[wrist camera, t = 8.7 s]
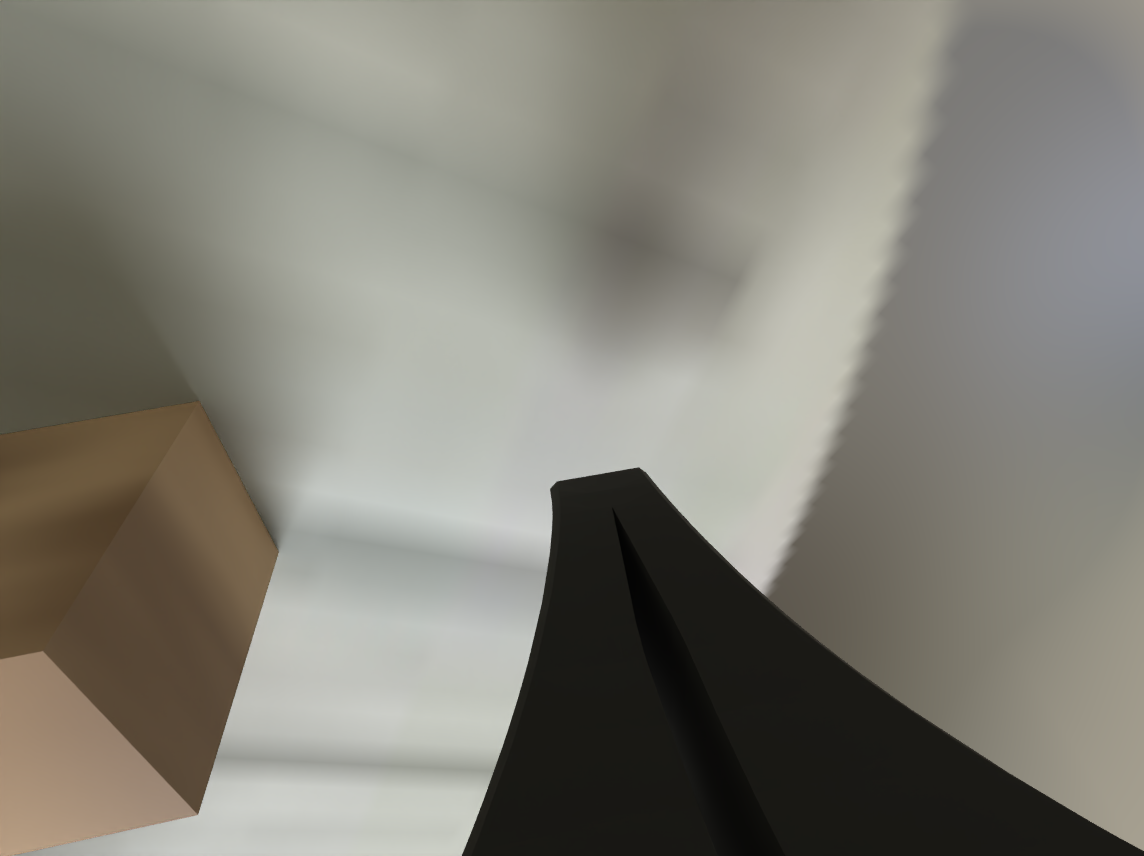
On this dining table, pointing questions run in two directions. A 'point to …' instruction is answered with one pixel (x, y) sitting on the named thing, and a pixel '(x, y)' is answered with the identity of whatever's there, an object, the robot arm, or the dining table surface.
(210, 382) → the dining table surface
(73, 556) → the tall tan wooden block
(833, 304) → the dining table surface
